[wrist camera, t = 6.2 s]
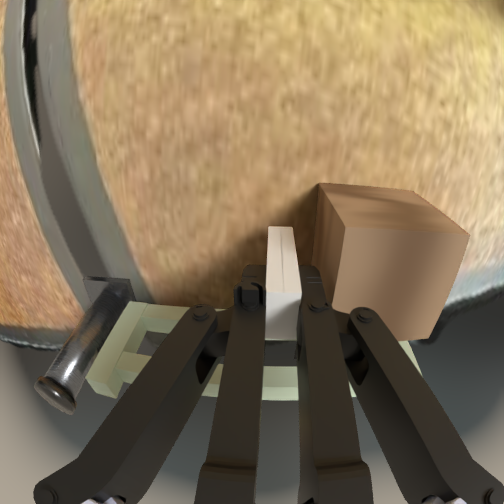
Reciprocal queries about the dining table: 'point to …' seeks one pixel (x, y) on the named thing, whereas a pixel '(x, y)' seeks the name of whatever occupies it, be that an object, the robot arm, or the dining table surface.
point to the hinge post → (84, 342)
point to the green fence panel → (130, 364)
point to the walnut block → (386, 255)
